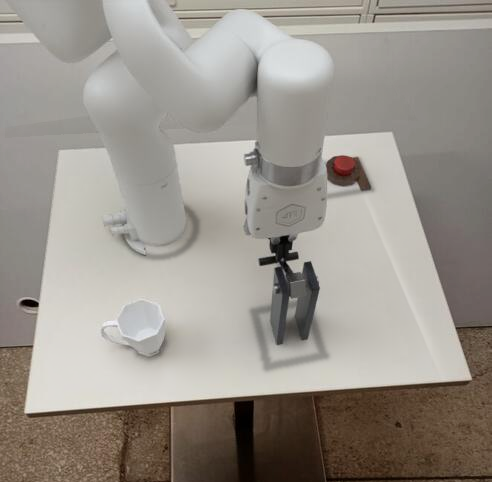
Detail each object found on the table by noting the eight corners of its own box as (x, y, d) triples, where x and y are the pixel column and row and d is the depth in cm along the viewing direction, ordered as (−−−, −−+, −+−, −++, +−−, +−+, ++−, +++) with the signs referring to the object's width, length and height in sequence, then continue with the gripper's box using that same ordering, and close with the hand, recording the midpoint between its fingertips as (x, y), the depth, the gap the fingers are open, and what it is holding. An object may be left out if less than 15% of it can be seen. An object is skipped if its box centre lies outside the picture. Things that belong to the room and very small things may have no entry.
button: (336, 178, 92) (338, 170, 90) (330, 164, 93) (332, 156, 92) (355, 175, 92) (357, 167, 90) (349, 161, 94) (351, 153, 92)
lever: (259, 268, 76) (257, 253, 75) (297, 261, 77) (296, 246, 75) (277, 301, 66) (275, 285, 64) (321, 293, 66) (320, 277, 65)
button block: (324, 197, 92) (326, 187, 90) (312, 166, 96) (314, 156, 94) (370, 189, 93) (373, 179, 91) (357, 159, 97) (360, 149, 95)
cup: (171, 364, 76) (163, 340, 69) (105, 365, 76) (91, 342, 69) (173, 323, 80) (166, 297, 73) (110, 324, 80) (97, 298, 72)
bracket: (253, 311, 81) (254, 252, 67) (307, 301, 82) (319, 241, 68) (267, 367, 76) (272, 316, 62) (324, 356, 77) (341, 303, 63)
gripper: (231, 190, 55) (235, 282, 72) (360, 169, 57) (336, 263, 73) (219, 144, 59) (225, 241, 75) (340, 125, 60) (321, 224, 77)
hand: (280, 252), depth 74 cm, fingers closed
